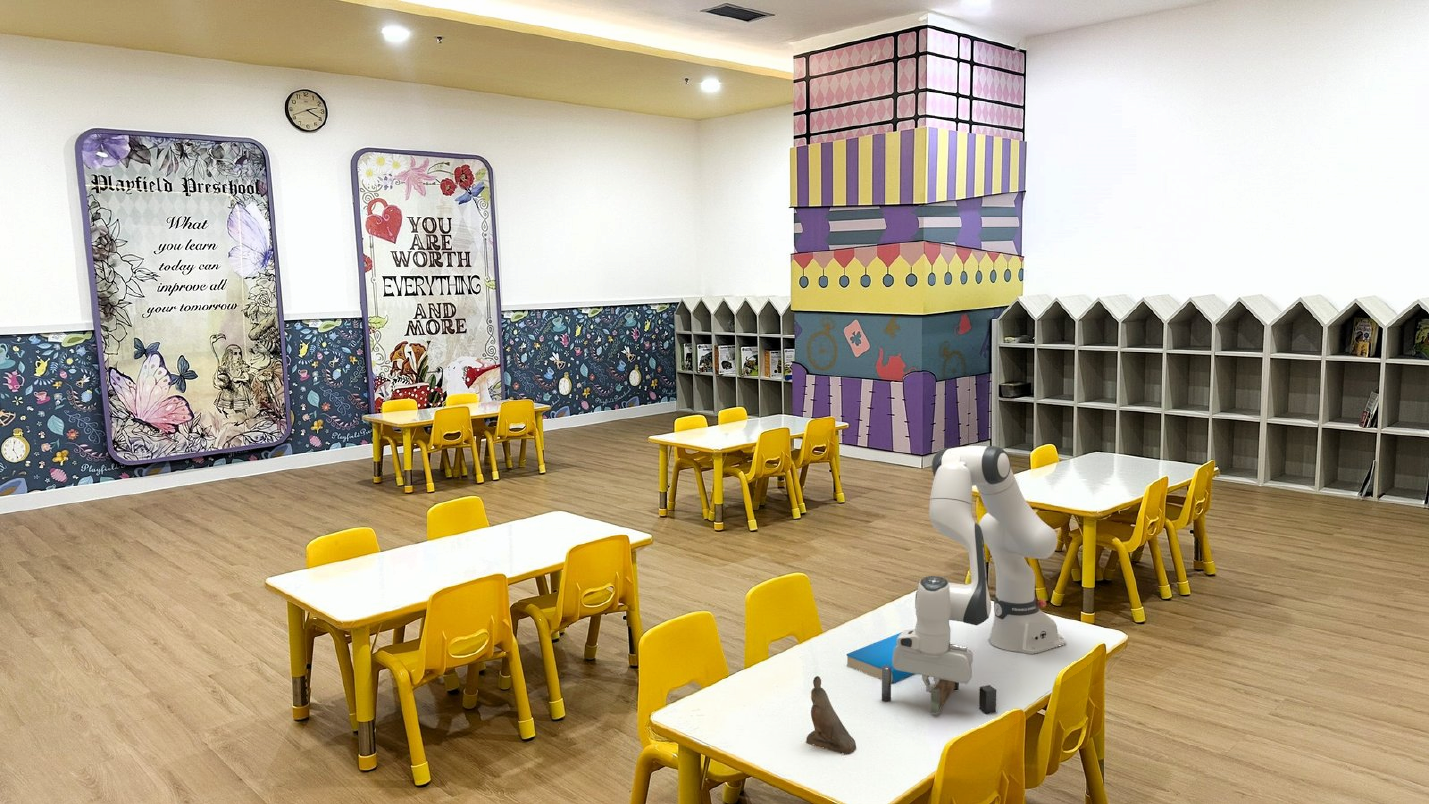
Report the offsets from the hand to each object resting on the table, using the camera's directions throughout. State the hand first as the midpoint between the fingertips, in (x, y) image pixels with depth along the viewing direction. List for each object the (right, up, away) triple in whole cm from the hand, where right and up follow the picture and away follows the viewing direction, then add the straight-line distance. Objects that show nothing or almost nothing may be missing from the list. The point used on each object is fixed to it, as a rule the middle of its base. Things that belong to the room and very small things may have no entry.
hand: (931, 692), depth 250 cm
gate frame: (+2, -4, +1) cm, 4 cm away
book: (-3, -1, +28) cm, 28 cm away
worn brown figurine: (-28, -7, -19) cm, 35 cm away
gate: (+4, -3, +1) cm, 5 cm away
